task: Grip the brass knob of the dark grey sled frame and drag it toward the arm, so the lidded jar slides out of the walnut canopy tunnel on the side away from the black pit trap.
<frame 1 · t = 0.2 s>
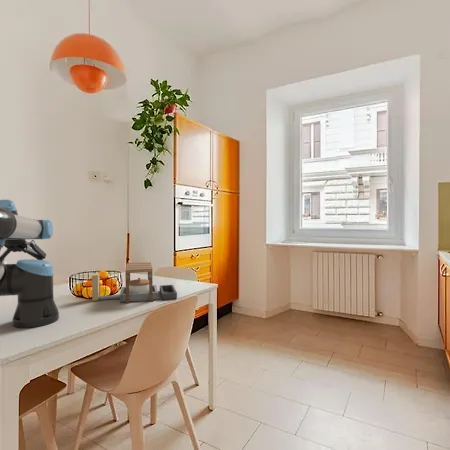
hand: (24, 270, 143), 15 cm above the table, tool tilted 35°, fingers open, 13 cm apart
tunnel: (139, 296, 154), on the table
pit trap: (167, 294, 158), on the table
sled: (125, 285, 152), point 6 cm above the table, slide at 0.0 cm
lidded jar: (139, 297, 154), resting in sled
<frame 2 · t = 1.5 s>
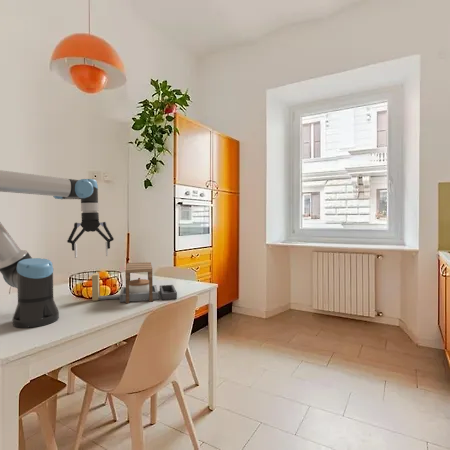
hand: (91, 256, 149), 21 cm above the table, tool pointing down, fingers open, 13 cm apart
nothing on the table moved.
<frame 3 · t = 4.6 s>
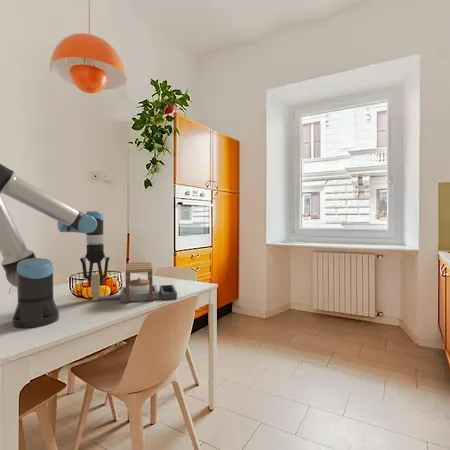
hand: (95, 292, 149), 4 cm above the table, tool pointing down, fingers closed on sled, 2 cm apart
sled: (125, 285, 152), point 6 cm above the table, slide at 0.0 cm, touching gripper
everything else where it was.
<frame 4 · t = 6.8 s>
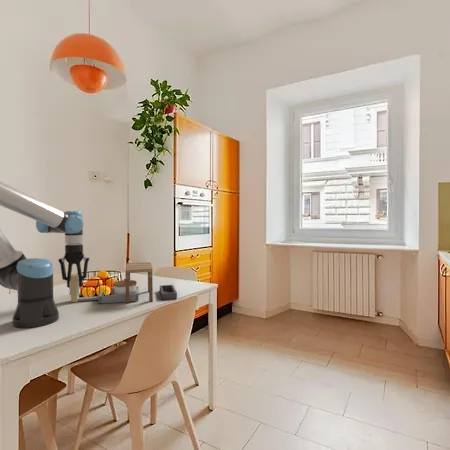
hand: (74, 293, 146), 4 cm above the table, tool pointing down, fingers closed on sled, 3 cm apart
sled: (106, 286, 150), point 6 cm above the table, slide at 9.1 cm, touching gripper, lidded jar
lidded jar: (125, 298, 152), resting in sled
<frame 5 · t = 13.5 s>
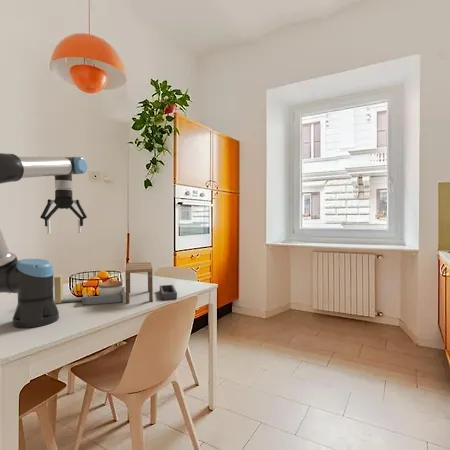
hand: (64, 233, 152), 32 cm above the table, tool pointing down, fingers open, 13 cm apart
sled: (90, 287, 148), point 6 cm above the table, slide at 15.9 cm
lidded jar: (110, 299, 150), resting in sled
at the end: sled slide at 15.9 cm; lidded jar inside the target area (3.6 cm from its centre), resting in sled; lidded jar tilted 0° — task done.
